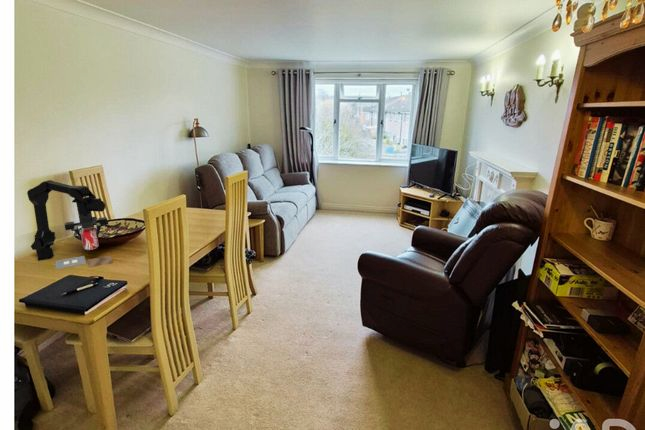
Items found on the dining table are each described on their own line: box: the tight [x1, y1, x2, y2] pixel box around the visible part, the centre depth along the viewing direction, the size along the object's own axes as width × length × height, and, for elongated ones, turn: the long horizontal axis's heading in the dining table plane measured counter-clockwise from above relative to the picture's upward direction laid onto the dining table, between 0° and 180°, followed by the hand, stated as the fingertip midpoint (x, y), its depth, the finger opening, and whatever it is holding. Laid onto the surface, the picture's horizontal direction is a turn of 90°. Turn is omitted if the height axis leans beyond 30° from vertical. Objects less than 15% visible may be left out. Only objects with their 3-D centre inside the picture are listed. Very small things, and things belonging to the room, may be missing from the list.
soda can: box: [79, 225, 100, 251], centre depth 183 cm, size 7×7×12 cm
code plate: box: [55, 255, 87, 270], centre depth 185 cm, size 13×12×1 cm
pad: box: [87, 255, 114, 268], centre depth 188 cm, size 11×11×1 cm
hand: (89, 238), depth 183 cm, fingers closed on soda can, 7 cm apart
